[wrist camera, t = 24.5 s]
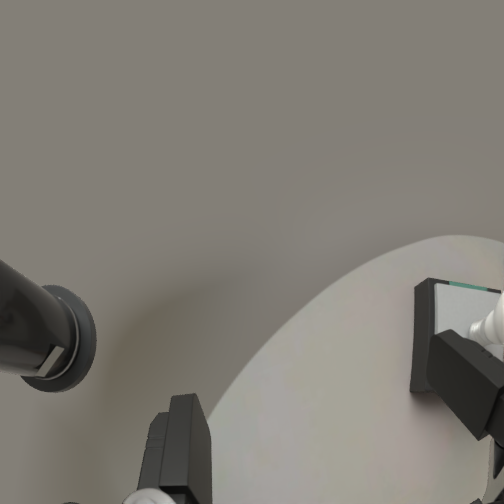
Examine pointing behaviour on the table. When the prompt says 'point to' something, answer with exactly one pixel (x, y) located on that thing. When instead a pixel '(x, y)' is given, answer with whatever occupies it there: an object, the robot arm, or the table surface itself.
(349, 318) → the table surface
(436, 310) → the scale
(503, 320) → the lightbulb
